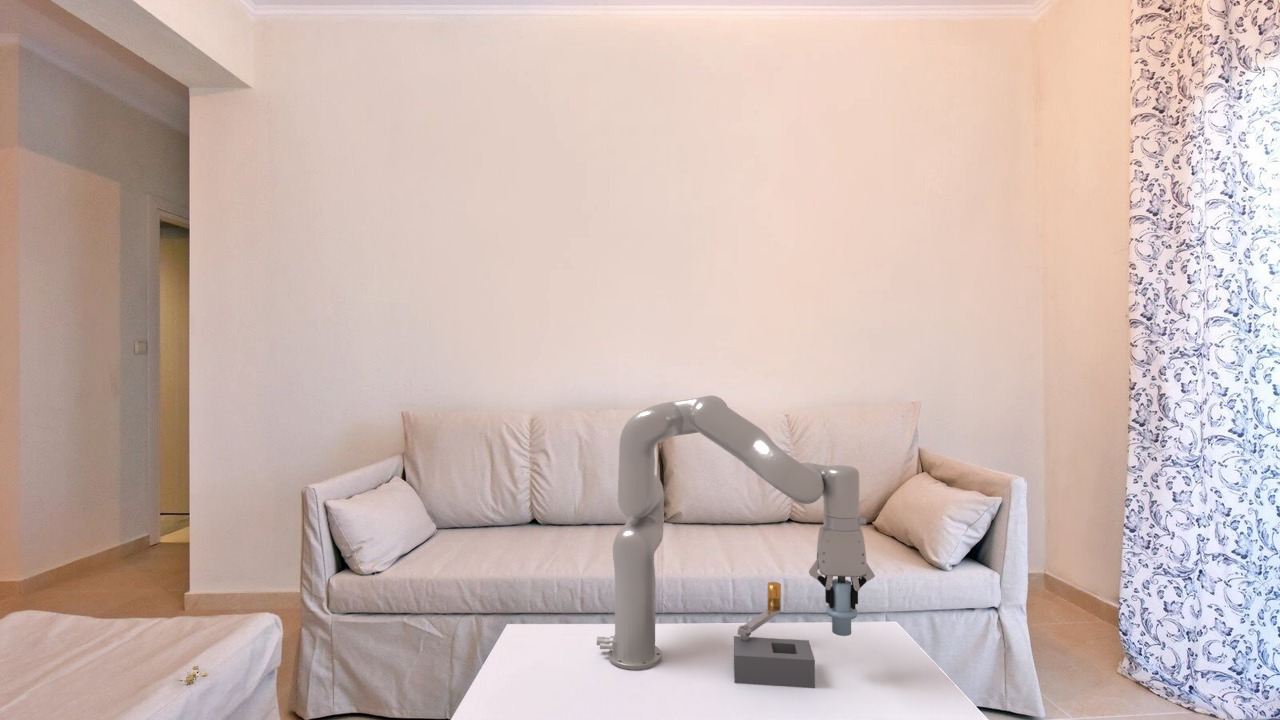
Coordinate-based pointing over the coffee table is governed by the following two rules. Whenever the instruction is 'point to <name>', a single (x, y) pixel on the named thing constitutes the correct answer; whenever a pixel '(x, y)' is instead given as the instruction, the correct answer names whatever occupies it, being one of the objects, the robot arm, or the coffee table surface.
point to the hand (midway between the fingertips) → (841, 605)
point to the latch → (771, 612)
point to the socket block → (773, 662)
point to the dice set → (193, 676)
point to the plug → (841, 607)
